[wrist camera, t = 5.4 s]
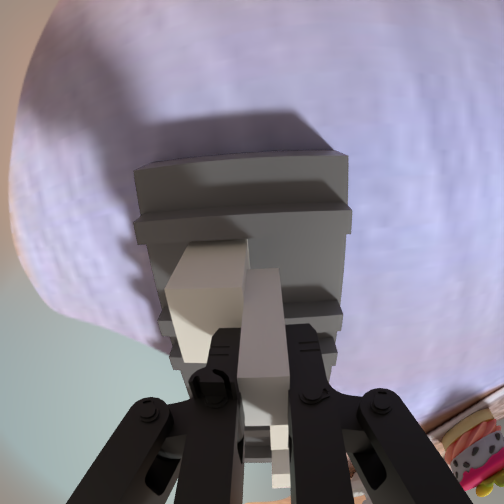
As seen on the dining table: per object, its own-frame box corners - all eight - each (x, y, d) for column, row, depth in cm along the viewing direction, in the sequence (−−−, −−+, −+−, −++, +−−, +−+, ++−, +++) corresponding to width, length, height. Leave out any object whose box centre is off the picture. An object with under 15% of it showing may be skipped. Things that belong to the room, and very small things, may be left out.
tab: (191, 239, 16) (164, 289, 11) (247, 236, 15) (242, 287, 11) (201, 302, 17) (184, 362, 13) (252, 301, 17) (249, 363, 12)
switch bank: (149, 162, 17) (117, 176, 13) (334, 150, 16) (357, 159, 12) (214, 437, 29) (210, 469, 25) (310, 435, 29) (314, 467, 25)
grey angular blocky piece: (394, 456, 33) (405, 499, 26) (390, 469, 36) (398, 507, 28) (340, 471, 35) (346, 515, 27) (340, 482, 37) (346, 521, 30)
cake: (475, 433, 33) (499, 492, 20) (430, 450, 34) (451, 518, 20) (501, 399, 29) (534, 465, 15) (455, 419, 30) (486, 497, 16)
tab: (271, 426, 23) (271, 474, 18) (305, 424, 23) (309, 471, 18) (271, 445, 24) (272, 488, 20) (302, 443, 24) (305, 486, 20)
